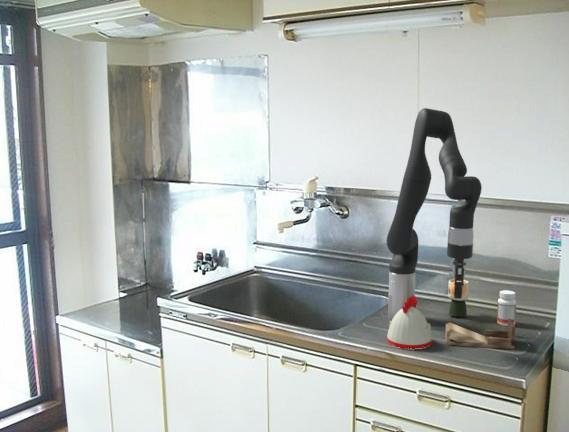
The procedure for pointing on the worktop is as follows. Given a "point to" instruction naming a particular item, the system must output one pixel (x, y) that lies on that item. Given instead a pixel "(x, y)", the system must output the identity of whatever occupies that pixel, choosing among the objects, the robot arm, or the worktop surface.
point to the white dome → (409, 327)
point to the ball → (454, 288)
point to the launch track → (481, 337)
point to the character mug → (458, 301)
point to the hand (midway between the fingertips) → (457, 295)
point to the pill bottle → (506, 308)
